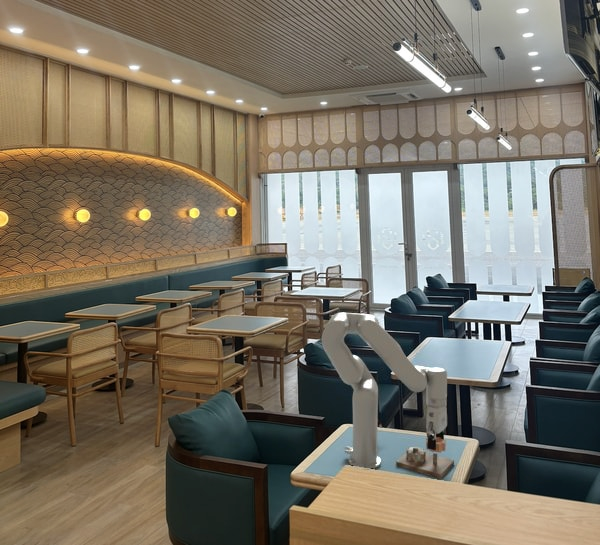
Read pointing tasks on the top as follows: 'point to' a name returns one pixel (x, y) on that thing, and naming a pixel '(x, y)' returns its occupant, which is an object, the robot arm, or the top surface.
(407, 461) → the gear board
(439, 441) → the terracotta gear
